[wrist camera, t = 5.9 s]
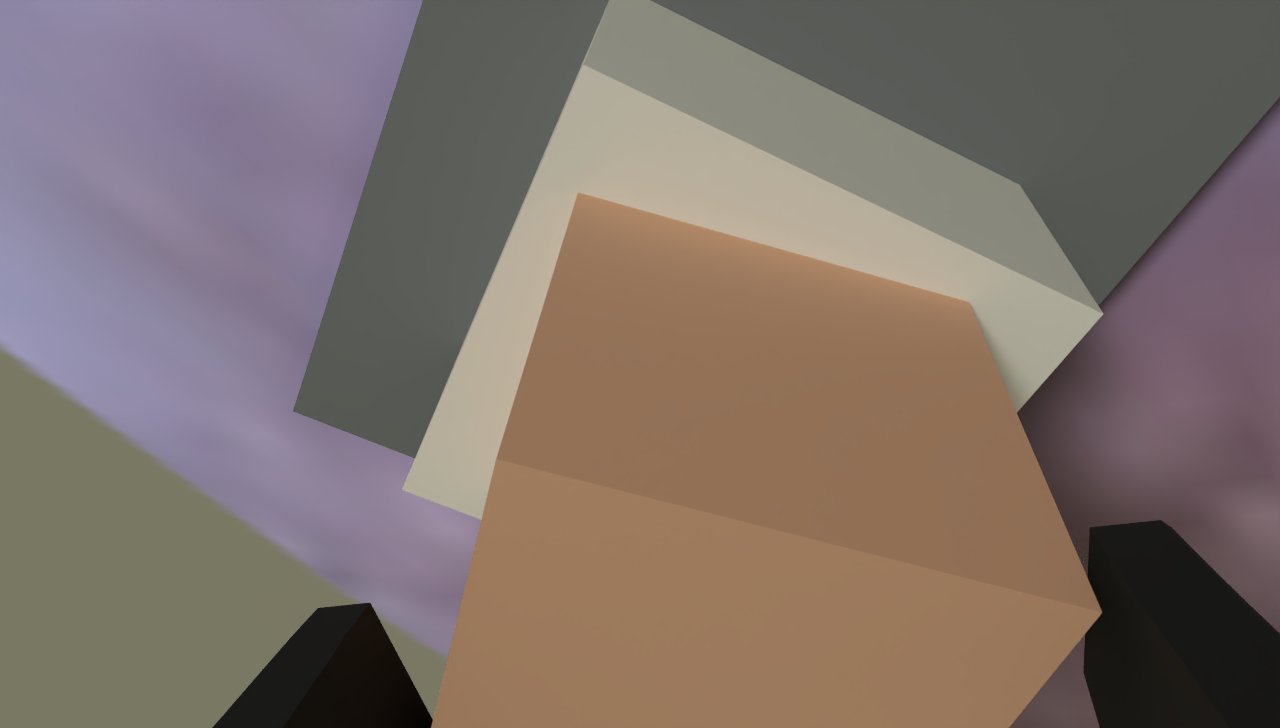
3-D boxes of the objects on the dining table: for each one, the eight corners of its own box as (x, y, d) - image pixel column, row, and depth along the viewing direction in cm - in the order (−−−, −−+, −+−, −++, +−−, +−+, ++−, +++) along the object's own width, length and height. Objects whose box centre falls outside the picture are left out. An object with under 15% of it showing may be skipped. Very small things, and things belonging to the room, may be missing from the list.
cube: (968, 301, 12) (1101, 612, 8) (821, 573, 15) (860, 909, 10) (577, 191, 11) (496, 458, 7) (502, 493, 14) (410, 811, 10)
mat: (1581, -293, 12) (1618, -293, 11) (825, 596, 21) (827, 617, 21) (715, -892, 10) (714, -924, 9) (303, 393, 19) (293, 411, 19)
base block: (1019, 184, 15) (1103, 313, 12) (796, 483, 19) (812, 645, 16) (616, -17, 14) (582, 64, 11) (462, 345, 18) (401, 490, 14)
